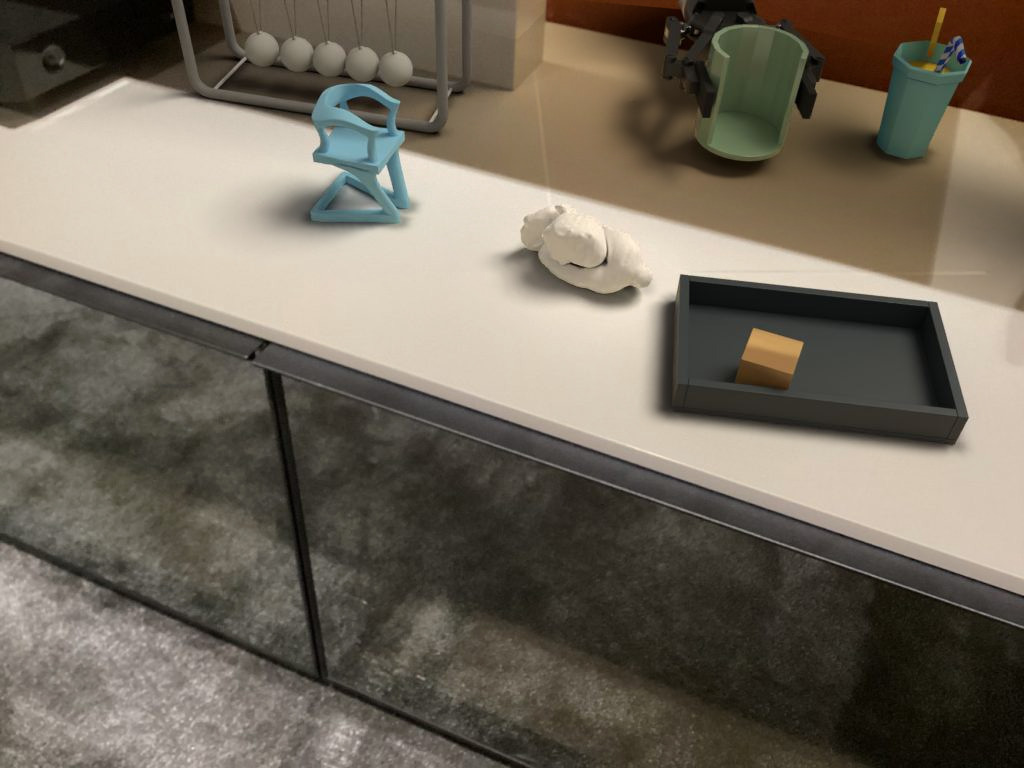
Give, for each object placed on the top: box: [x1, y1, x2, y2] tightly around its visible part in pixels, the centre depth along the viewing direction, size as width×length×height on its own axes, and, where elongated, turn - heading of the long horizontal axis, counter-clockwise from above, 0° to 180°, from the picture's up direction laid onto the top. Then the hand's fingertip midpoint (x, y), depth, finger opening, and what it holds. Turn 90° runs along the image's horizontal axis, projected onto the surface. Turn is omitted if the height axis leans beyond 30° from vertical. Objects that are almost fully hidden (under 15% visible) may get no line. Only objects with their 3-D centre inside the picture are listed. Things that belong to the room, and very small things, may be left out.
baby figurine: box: [519, 203, 653, 295], centre depth 85 cm, size 9×12×8 cm
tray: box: [671, 273, 970, 445], centre depth 78 cm, size 22×14×3 cm, turn 82°
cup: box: [875, 7, 973, 160], centre depth 98 cm, size 14×8×15 cm, turn 173°
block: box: [735, 328, 804, 390], centre depth 75 cm, size 4×4×4 cm
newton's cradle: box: [170, 0, 473, 133], centre depth 103 cm, size 30×10×18 cm, turn 76°
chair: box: [309, 83, 411, 224], centre depth 90 cm, size 8×8×12 cm
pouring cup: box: [694, 24, 809, 162], centre depth 97 cm, size 9×9×10 cm
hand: (759, 105), depth 93 cm, fingers closed on pouring cup, 9 cm apart
